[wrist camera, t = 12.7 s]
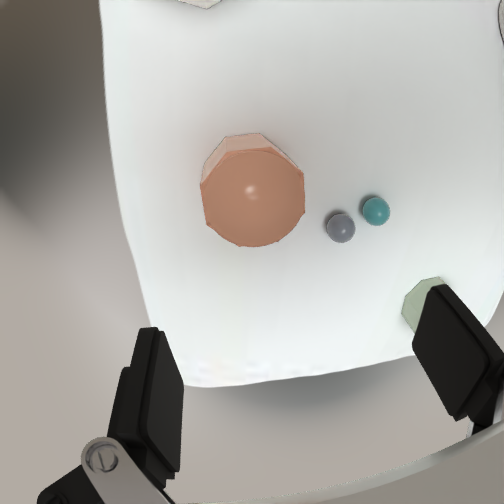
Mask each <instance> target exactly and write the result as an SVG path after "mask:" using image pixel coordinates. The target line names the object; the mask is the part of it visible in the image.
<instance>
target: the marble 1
mask: <svg viewBox="0 0 504 504" xmlns="http://www.w3.org/2000/svg"><path fill="white" fill-rule="evenodd" d="M327 233H328V235H329V237H330V238H331V239H332V240H333V241H335V242H338V243H345V242H348V241H349V240H351V239H352V237H353V236H354V234H355V224H354V221H353V220H352V219H351V218H350V217H349V216H347V215H345V214H337V215H335V216H333V217H332V218H331V219H330V220H329V222H328V224H327Z"/></svg>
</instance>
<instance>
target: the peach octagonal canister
mask: <svg viewBox="0 0 504 504" xmlns="http://www.w3.org/2000/svg"><path fill="white" fill-rule="evenodd" d="M303 174H304V173H303V172H302V171H301V170H300V169H299V168H298V167H297V166H296V165H295V164H294V163H293V162H292V161H291V159H290V158H289V157H288V156H287V155H286V154H285V153H283V152H282V151H281V150H280V149H278V148H277V147H276V146H275V145H273V144H272V143H271V142H270V141H268V140H267V139H266V138H265V137H263V136H262V135H261V134H260V133H256V134H246V135H238V136H230V137H225V138H224V139H223V141H222V142H221V143H220V144H219V146H218V147H217V148H216V149H215V151H214V152H213V153H212V154H211V156H210V157H209V158H208V159H207V161H206V162H205V164H204V168H203V173H202V178H201V182H200V189H201V195H202V201H203V207H204V213H205V219H206V225H207V226H209V227H210V228H212V229H213V230H215V231H216V232H217V233H218V234H219V235H220V236H221V237H223V238H224V239H226V240H227V241H229V242H231V243H234V244H236V245H237V246H239V247H240V246H246V247H260V246H265V245H268V244H272V243H274V242H278V241H279V240H280V239H282V238H283V237H284V236H286V235H287V234H288V233H289V232H290V231H291V230H292V229H293V228H294V227H295V226H296V224H297V223H298V221H299V219H300V217H301V216H302V215H303V214H304V213H305V192H304V176H303Z"/></svg>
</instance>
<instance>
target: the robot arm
mask: <svg viewBox="0 0 504 504" xmlns="http://www.w3.org/2000/svg"><path fill="white" fill-rule="evenodd" d="M499 23H500V29H501V34H502V37H503V40H504V0H502V1H501V3H500V7H499ZM412 348H413V351H414V353H415V355H416V356H417V358H418V360H419V362H420V363H421V365H422V367H423V368H424V370H425V372H426V374H427V375H428V377H429V379H430V381H431V383H432V384H433V386H434V388H435V390H436V391H437V393H438V395H439V397H440V399H441V401H442V403H443V405H444V406H445V408H446V410H447V412H448V414H449V415H450V416H453V418H454V419H455V421H458V420H461V419H463V418H465V417H467V415H468V417H469V418H470V422H469V427H468V431H467V436H466V439H464V440H462V441H460V442H458V443H456V444H454V445H452V446H449V447H447V448H445V449H443V450H441V451H438V452H436V453H434V454H431V455H429V456H426V457H424V458H421V459H419V460H416V461H414V462H411V463H408V464H406V465H404V466H400V467H397V468H395V469H392V470H389V471H385V472H383V473H379V474H376V475H373V476H370V477H366V478H363V479H359V480H355V481H352V482H348V483H344V484H340V485H336V486H332V487H327V488H323V489H318V490H313V491H308V492H303V493H297V494H291V495H284V496H277V497H271V498H262V499H252V500H242V501H230V502H214V503H191V504H504V353H503V351H502V350H501V349H500V347H499V346H498V345H497V343H496V342H495V341H494V340H493V338H492V337H491V336H490V334H489V333H488V332H487V331H486V329H485V328H484V327H483V326H482V324H481V323H480V322H479V321H478V320H477V318H476V317H475V316H474V315H473V313H472V312H471V311H470V310H469V309H468V308H467V306H466V305H465V304H464V303H463V302H462V301H461V299H460V298H459V297H458V296H457V295H456V294H455V293H454V291H453V290H452V289H451V288H450V287H449V286H448V285H447V284H440V285H436V286H432V287H431V288H430V291H428V292H427V295H426V298H425V302H424V306H423V309H422V313H421V316H420V319H419V323H418V326H417V329H416V332H415V335H414V338H413V341H412ZM183 394H184V385H183V380H182V377H181V375H180V372H179V370H178V367H177V365H176V362H175V360H174V357H173V354H172V352H171V349H170V346H169V344H168V341H167V338H166V336H165V333H164V331H159V330H158V328H157V327H149V328H140V330H139V332H138V336H137V340H136V344H135V348H134V352H133V356H132V360H131V364H130V367H124V368H123V369H122V372H121V375H120V379H119V383H118V387H117V391H116V396H115V400H114V404H113V409H112V414H111V418H110V423H109V428H108V433H107V437H99V438H96V439H93V440H91V441H90V442H89V443H88V444H86V446H85V447H84V449H83V451H82V454H81V465H79V466H78V467H77V468H75V469H74V470H72V471H71V472H69V473H68V474H66V475H65V476H63V477H62V478H60V479H59V480H57V481H56V482H55V483H53V484H51V485H50V486H49V487H47V488H45V489H44V490H43V491H42V492H41V493H40V494H39V496H38V499H37V504H177V503H176V502H175V501H174V500H173V499H172V498H171V497H170V495H169V494H168V493H167V492H166V491H165V490H164V488H165V487H166V479H175V472H179V470H180V453H181V452H180V451H181V429H182V411H183V410H182V409H183Z"/></svg>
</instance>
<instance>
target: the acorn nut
mask: <svg viewBox="0 0 504 504" xmlns="http://www.w3.org/2000/svg"><path fill="white" fill-rule="evenodd" d="M440 284H445V283H444V281H443V280H442V279H441V278H440V277H435V278H431V279H426V280H422V281H421V282H420V283H419V284H418V285H417V286H416V287H414V288H413V289H412V290H411V291H410V292H409V293H408V294H407V295H406V297H405V301H404V305H403V309H402V313H401V314H402V315H403V317H404V318H405V320H406V321H407V323H408V324H409V326H410V327H411V329H412V330H413V332H414V333H415V332H416V329H417V326H418V323H419V319H420V316H421V313H422V309H423V306H424V302H425V298H426V295H427V292H428V291H430V288H431V287H432V286H436V285H440Z"/></svg>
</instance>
